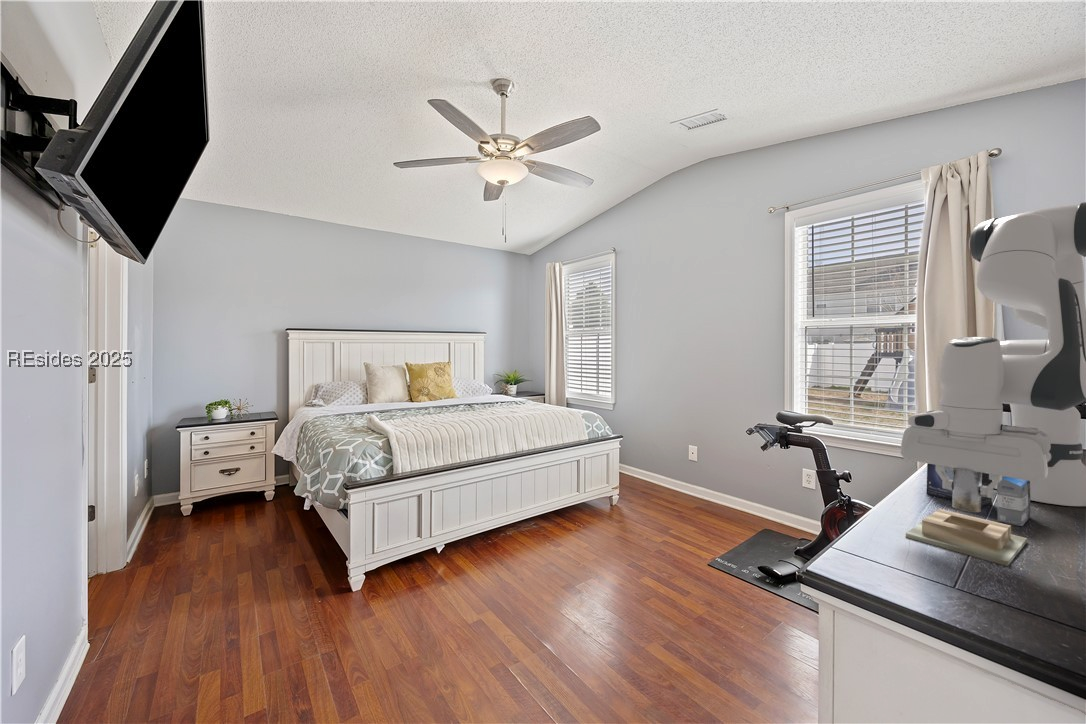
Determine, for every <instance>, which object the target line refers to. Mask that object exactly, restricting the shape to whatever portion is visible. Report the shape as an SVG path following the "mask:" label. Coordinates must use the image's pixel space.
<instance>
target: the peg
mask: <svg viewBox="0 0 1086 724" xmlns="http://www.w3.org/2000/svg"><path fill="white" fill-rule="evenodd" d="M981 486H982V473H981V472H976V471H974V470H969V469H963V468H953V495H952V500H951V502H952V503H951V506H952V508H954V509H956V510H959V511H962V512H963V511H964V512H970V513H981V512H982V507H981V496H980V492H981V491H980V487H981Z"/></svg>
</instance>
